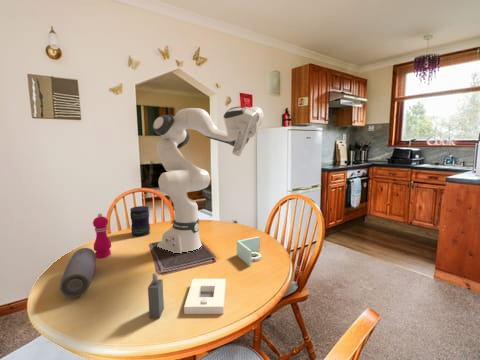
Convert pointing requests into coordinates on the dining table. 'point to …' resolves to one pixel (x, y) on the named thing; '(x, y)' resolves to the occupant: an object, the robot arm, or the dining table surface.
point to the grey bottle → (155, 297)
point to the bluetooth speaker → (78, 273)
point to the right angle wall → (249, 250)
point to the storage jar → (140, 221)
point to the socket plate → (206, 297)
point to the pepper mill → (101, 237)
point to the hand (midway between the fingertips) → (237, 142)
